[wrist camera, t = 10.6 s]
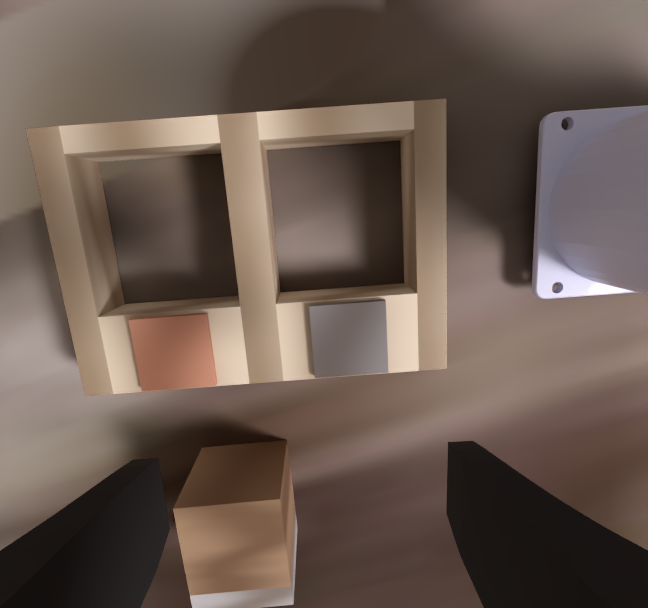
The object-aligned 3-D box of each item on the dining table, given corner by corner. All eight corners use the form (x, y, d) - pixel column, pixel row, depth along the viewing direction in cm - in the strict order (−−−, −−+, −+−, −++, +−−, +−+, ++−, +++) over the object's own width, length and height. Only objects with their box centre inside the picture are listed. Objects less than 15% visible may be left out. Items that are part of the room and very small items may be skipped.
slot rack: (428, 114, 18) (448, 96, 15) (430, 349, 20) (449, 371, 17) (65, 140, 18) (19, 126, 15) (112, 373, 20) (81, 399, 17)
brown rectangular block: (279, 499, 17) (293, 604, 18) (287, 439, 21) (297, 527, 22) (172, 509, 17) (193, 613, 18) (202, 447, 21) (217, 534, 22)
